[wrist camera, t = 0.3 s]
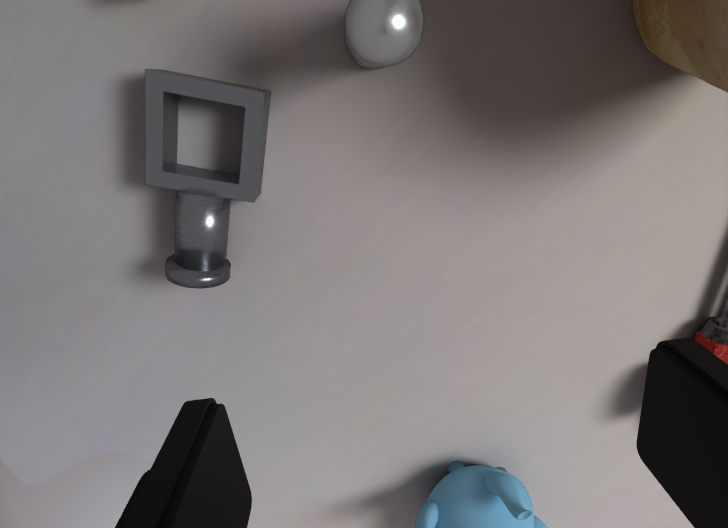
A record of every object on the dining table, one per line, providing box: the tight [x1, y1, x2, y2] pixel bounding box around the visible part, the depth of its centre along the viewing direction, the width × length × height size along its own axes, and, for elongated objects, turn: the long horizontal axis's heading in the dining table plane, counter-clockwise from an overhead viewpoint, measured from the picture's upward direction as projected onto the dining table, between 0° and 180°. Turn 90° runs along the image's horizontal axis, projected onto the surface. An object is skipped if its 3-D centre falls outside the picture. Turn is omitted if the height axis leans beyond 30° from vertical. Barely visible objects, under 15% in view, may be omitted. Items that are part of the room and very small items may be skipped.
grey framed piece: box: [145, 69, 271, 288], centre depth 34 cm, size 15×8×5 cm, turn 169°
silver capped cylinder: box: [345, 0, 424, 69], centre depth 28 cm, size 4×4×10 cm
